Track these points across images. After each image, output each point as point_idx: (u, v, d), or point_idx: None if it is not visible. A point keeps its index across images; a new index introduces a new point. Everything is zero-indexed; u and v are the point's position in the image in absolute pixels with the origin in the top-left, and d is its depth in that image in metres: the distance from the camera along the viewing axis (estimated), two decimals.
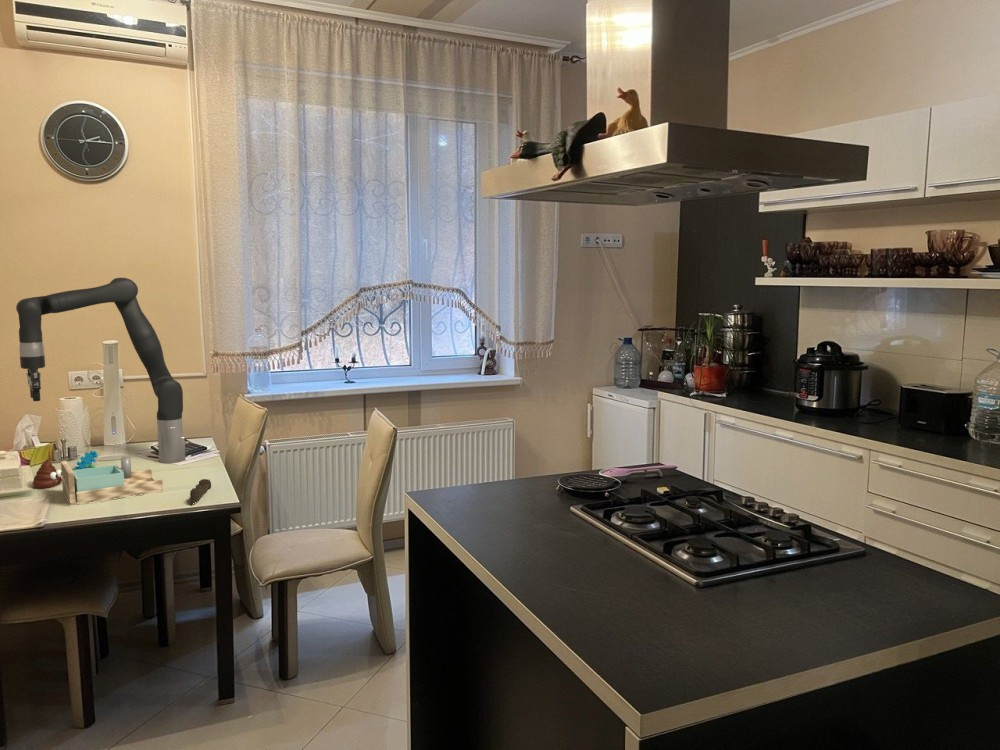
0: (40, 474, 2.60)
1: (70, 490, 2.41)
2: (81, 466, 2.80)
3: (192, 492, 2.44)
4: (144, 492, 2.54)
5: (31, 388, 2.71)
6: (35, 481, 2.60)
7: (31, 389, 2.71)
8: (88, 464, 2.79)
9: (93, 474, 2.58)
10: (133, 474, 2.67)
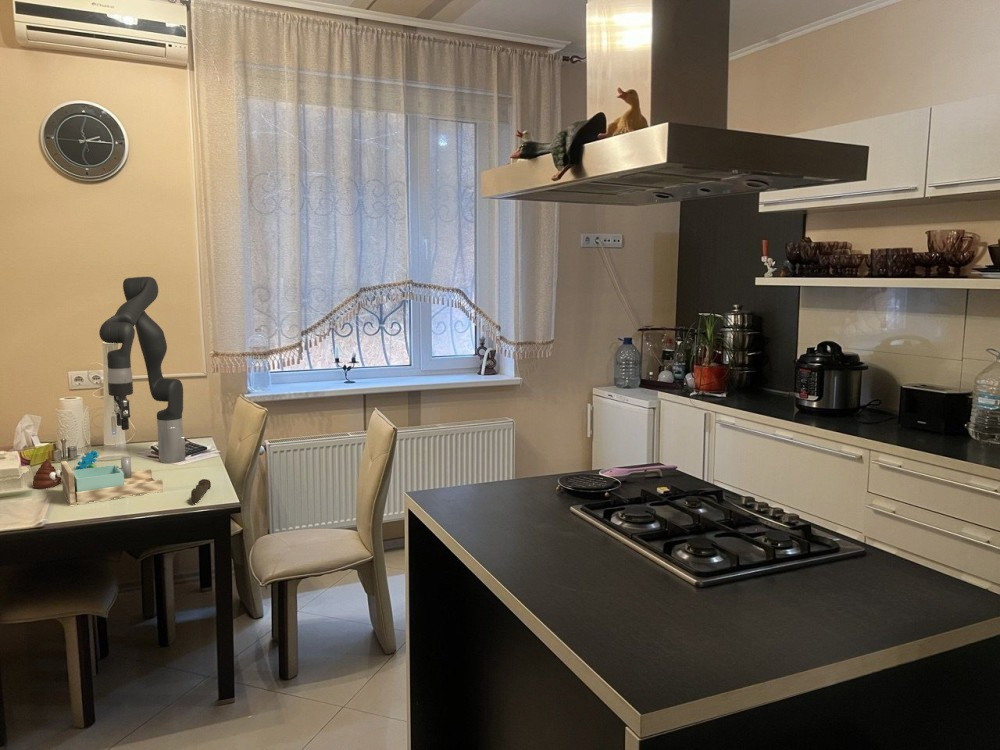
0: (40, 474, 2.60)
1: (70, 490, 2.41)
2: (82, 466, 2.80)
3: (193, 492, 2.45)
4: (144, 492, 2.54)
5: (118, 415, 2.59)
6: (35, 481, 2.60)
7: (117, 416, 2.59)
8: (88, 464, 2.79)
9: (93, 474, 2.58)
10: (133, 474, 2.67)
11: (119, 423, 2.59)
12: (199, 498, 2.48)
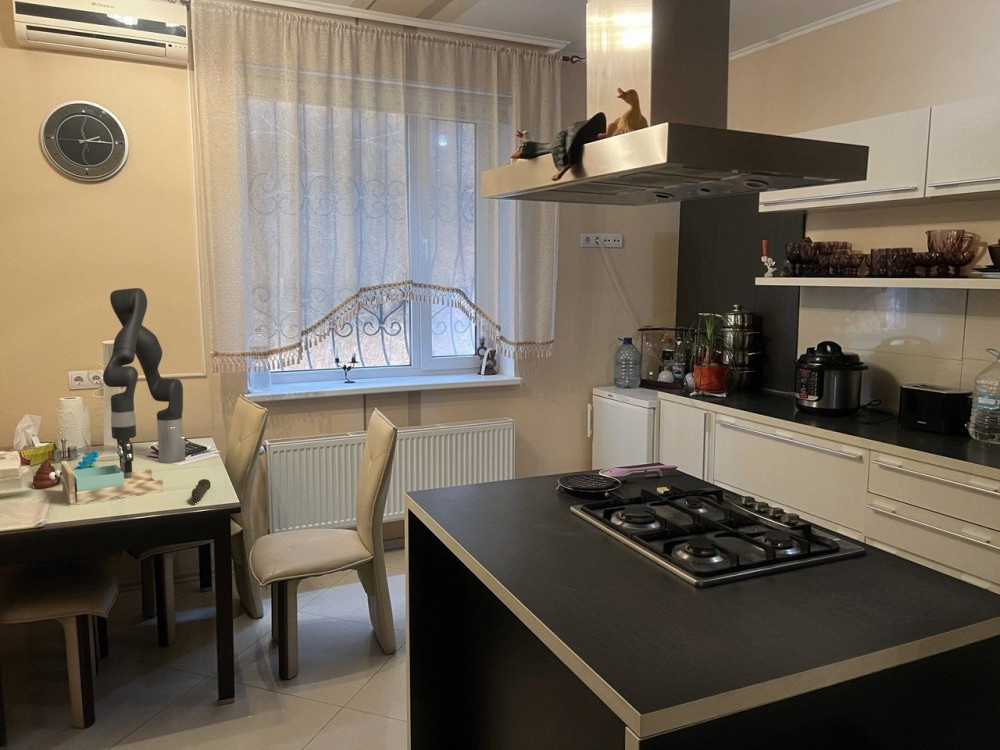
0: (40, 474, 2.60)
1: (70, 490, 2.41)
2: (82, 466, 2.81)
3: (194, 492, 2.45)
4: (144, 492, 2.54)
5: (121, 457, 2.61)
6: (34, 481, 2.60)
7: None
8: (89, 464, 2.79)
9: (93, 474, 2.58)
10: (133, 474, 2.67)
11: None
12: (199, 498, 2.48)
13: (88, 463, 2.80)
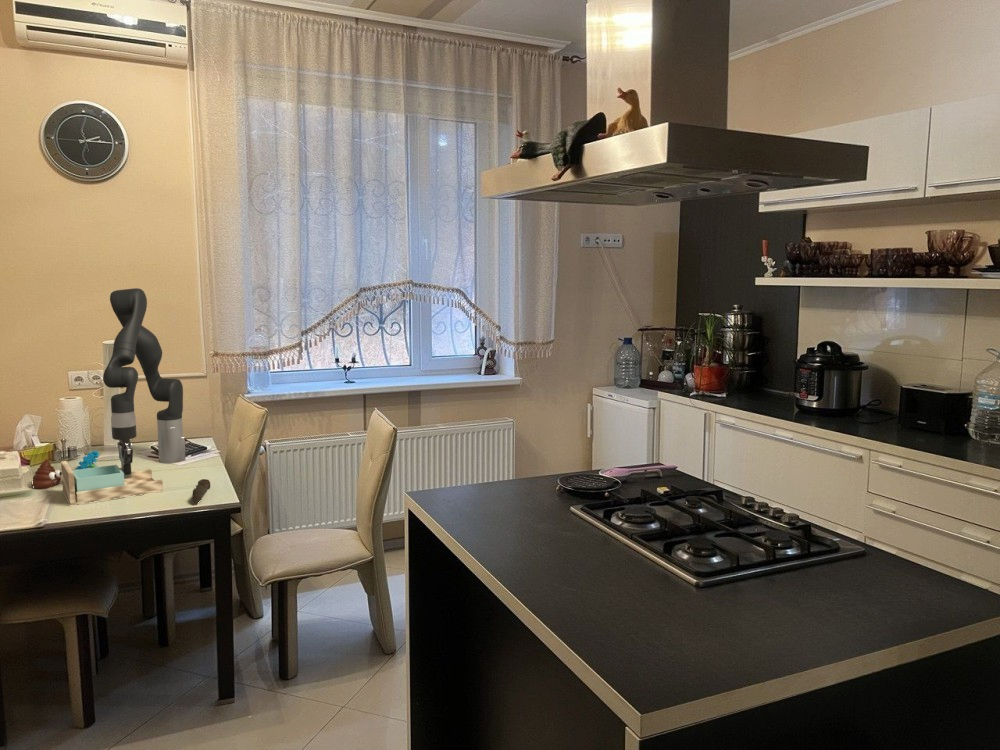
0: (39, 474, 2.60)
1: (70, 490, 2.41)
2: (82, 466, 2.81)
3: (195, 492, 2.45)
4: (144, 492, 2.54)
5: None
6: (34, 481, 2.60)
7: None
8: (89, 464, 2.79)
9: (93, 474, 2.58)
10: (133, 474, 2.67)
11: None
12: (200, 498, 2.48)
13: (88, 463, 2.80)
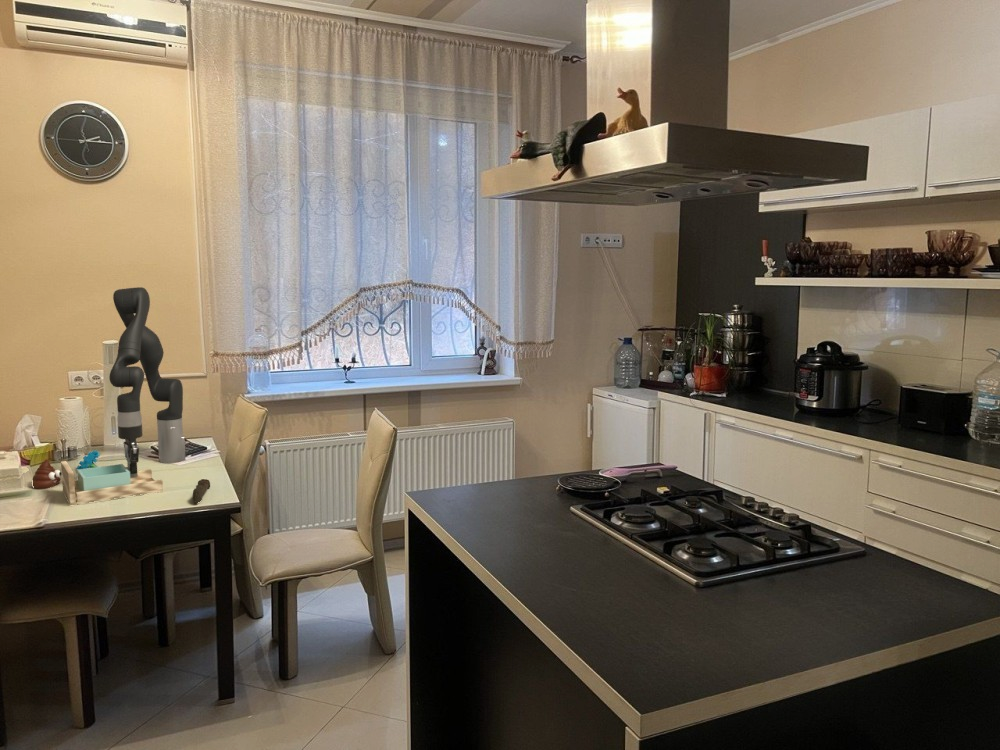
0: (39, 474, 2.60)
1: (70, 490, 2.41)
2: (83, 466, 2.81)
3: (195, 492, 2.45)
4: (144, 492, 2.54)
5: None
6: (34, 481, 2.60)
7: None
8: (89, 464, 2.79)
9: (99, 473, 2.59)
10: None
11: None
12: (201, 498, 2.48)
13: (88, 463, 2.80)
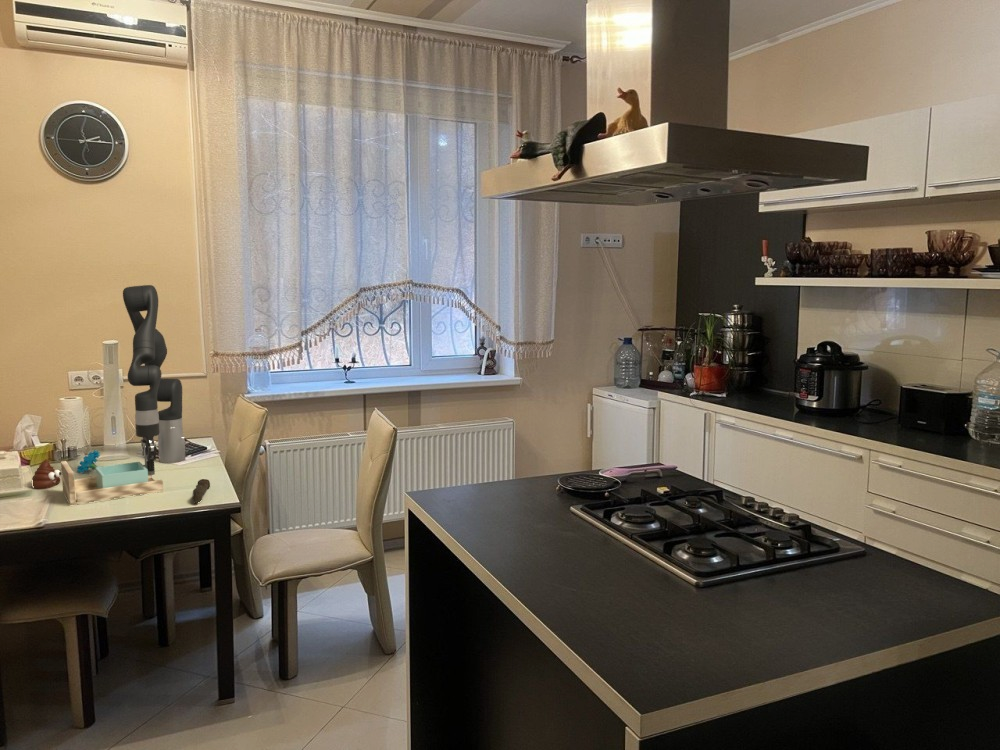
0: (39, 474, 2.60)
1: (70, 490, 2.41)
2: (83, 466, 2.81)
3: (195, 492, 2.45)
4: (144, 492, 2.54)
5: None
6: (33, 481, 2.60)
7: None
8: (89, 464, 2.79)
9: (117, 471, 2.62)
10: None
11: None
12: (201, 498, 2.48)
13: (89, 463, 2.80)
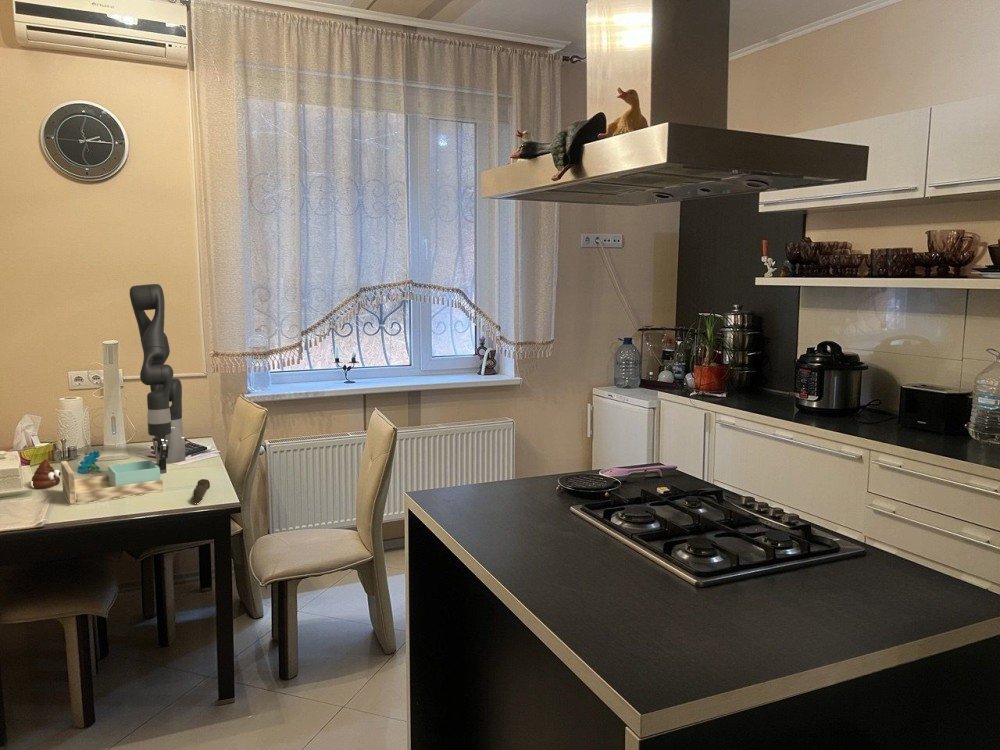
0: (38, 474, 2.60)
1: (70, 490, 2.41)
2: (83, 466, 2.81)
3: (196, 492, 2.45)
4: (144, 492, 2.54)
5: None
6: (33, 481, 2.60)
7: None
8: (89, 464, 2.79)
9: (129, 469, 2.64)
10: None
11: None
12: (201, 498, 2.48)
13: (89, 463, 2.80)
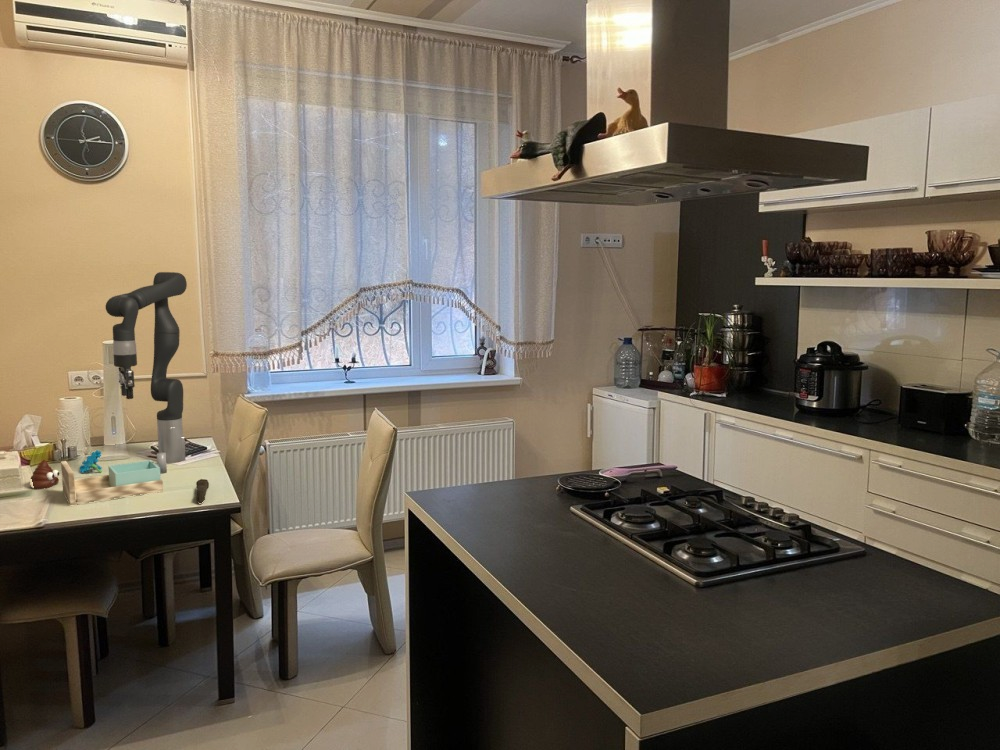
0: (37, 474, 2.60)
1: (70, 490, 2.41)
2: (85, 465, 2.81)
3: (200, 492, 2.45)
4: (144, 492, 2.54)
5: (122, 386, 2.73)
6: (32, 481, 2.60)
7: (122, 387, 2.73)
8: (90, 464, 2.79)
9: (129, 469, 2.64)
10: None
11: (124, 393, 2.73)
12: (204, 497, 2.48)
13: (90, 463, 2.80)
